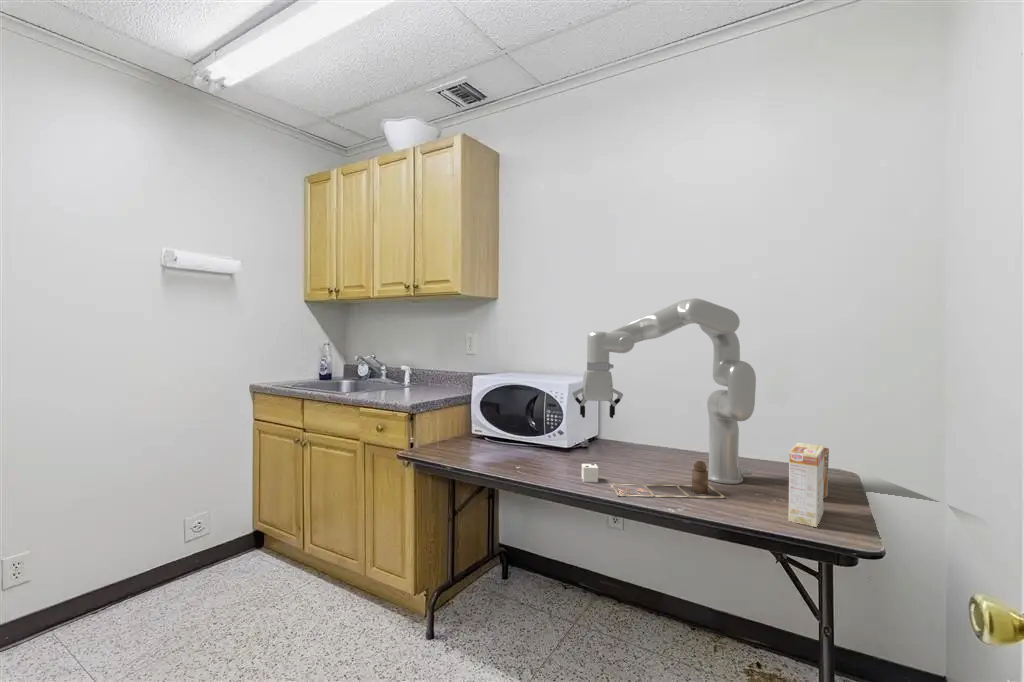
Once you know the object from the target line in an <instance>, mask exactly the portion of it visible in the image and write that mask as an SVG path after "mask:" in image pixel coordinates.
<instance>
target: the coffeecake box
mask: <svg viewBox="0 0 1024 682" xmlns="http://www.w3.org/2000/svg"><path fill="white" fill-rule="evenodd" d="M824 448H825V445H820V444H812V443H808V442H796V444H795V445H794V446H792V448H791V449H790V450H789V452H788V514H787V515H788V519H787V521H792V522H796V523H800V524H806V525H810V526H814V527H817V526H818V527H819V525H820V522H821V520H822V518H823V515H824V500H823V493H824ZM818 524H819V525H818ZM818 527H817V528H818Z"/></svg>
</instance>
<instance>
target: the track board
mask: <svg viewBox="0 0 1024 682" xmlns="http://www.w3.org/2000/svg"><path fill="white" fill-rule="evenodd" d="M610 485H611V486H610ZM613 485H643V486H644V487H645V488H646V489H647V490H648V491H649V493H650V494H651V495H629V494H626V495H622V494H624V493H626V492H624V491H623V490H621V489H619V488H618V489H619V490H620V491H619V493H618V492H617V490H616V489H615V487H614V486H613ZM646 485H648V486H646ZM651 485H652V484H645V483H644V484H643V483H642V484H638V483H633V484H631V483H630V484H629V483H610V484H609V486H610V487H611V489H612V488H613V489H612V490H614V491H615V492H614V491H613V492H614V494H615V493H616V494H615V496H616V495H617V496H649V497H652V496H653V497H688V498H687V499H705V498H726V499H727V497H726V496H725V495H723V494H722V493H721V492H719V490H717V489H716V488H715V487H713V486H712V485H708V489H709V488H710V489H711V490H712V492H714V493H715V494H717V496H712V495H711V496H706V495H701V496H700V495H689V493H688V492H686V491H685V490H684V488H692V484H685V485H684V484H653V485H654V486H677V487H678V488H679V489H680V490H681V491H682V492H683V493H684V494H685V495H686V496H685V495H684V494H683V493H682V492H681V491H680V490H679V489H678V488H677V487H676V488H677V489H678V490H679V491H680V492H681V493H682V494H683V495H657V494H656V495H655V494H654V493H653V492H652V491H651V490H650V488H649V487H652V486H651ZM679 486H682V487H679ZM682 488H683V489H682ZM638 489H639V490H638ZM638 489H636V490H637V491H641V492H644V491H645V492H648V491H646V490H644V489H642V488H638ZM621 491H622V492H624V493H622V492H621ZM626 491H627V493H629V492H630V490H629V489H627V488H626ZM628 491H629V492H628ZM637 491H635V492H637ZM620 493H622V494H620ZM633 493H634V492H633ZM637 493H638V492H637ZM619 494H620V495H619ZM638 494H640V493H638ZM719 495H720V496H719ZM617 496H616V497H617ZM649 497H648V498H649Z"/></svg>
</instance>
